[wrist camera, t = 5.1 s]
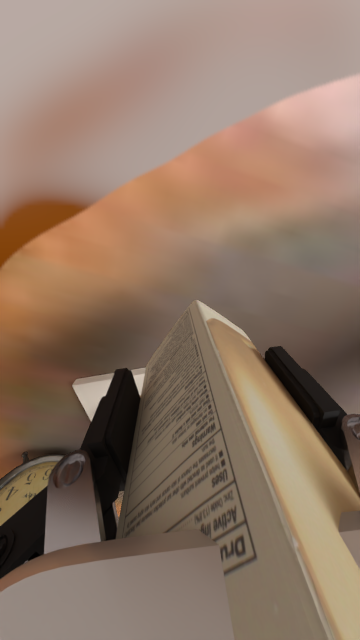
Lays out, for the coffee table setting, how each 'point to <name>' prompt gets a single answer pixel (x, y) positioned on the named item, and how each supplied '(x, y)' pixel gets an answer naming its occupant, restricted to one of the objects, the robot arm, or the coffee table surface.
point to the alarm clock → (24, 483)
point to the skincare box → (243, 482)
